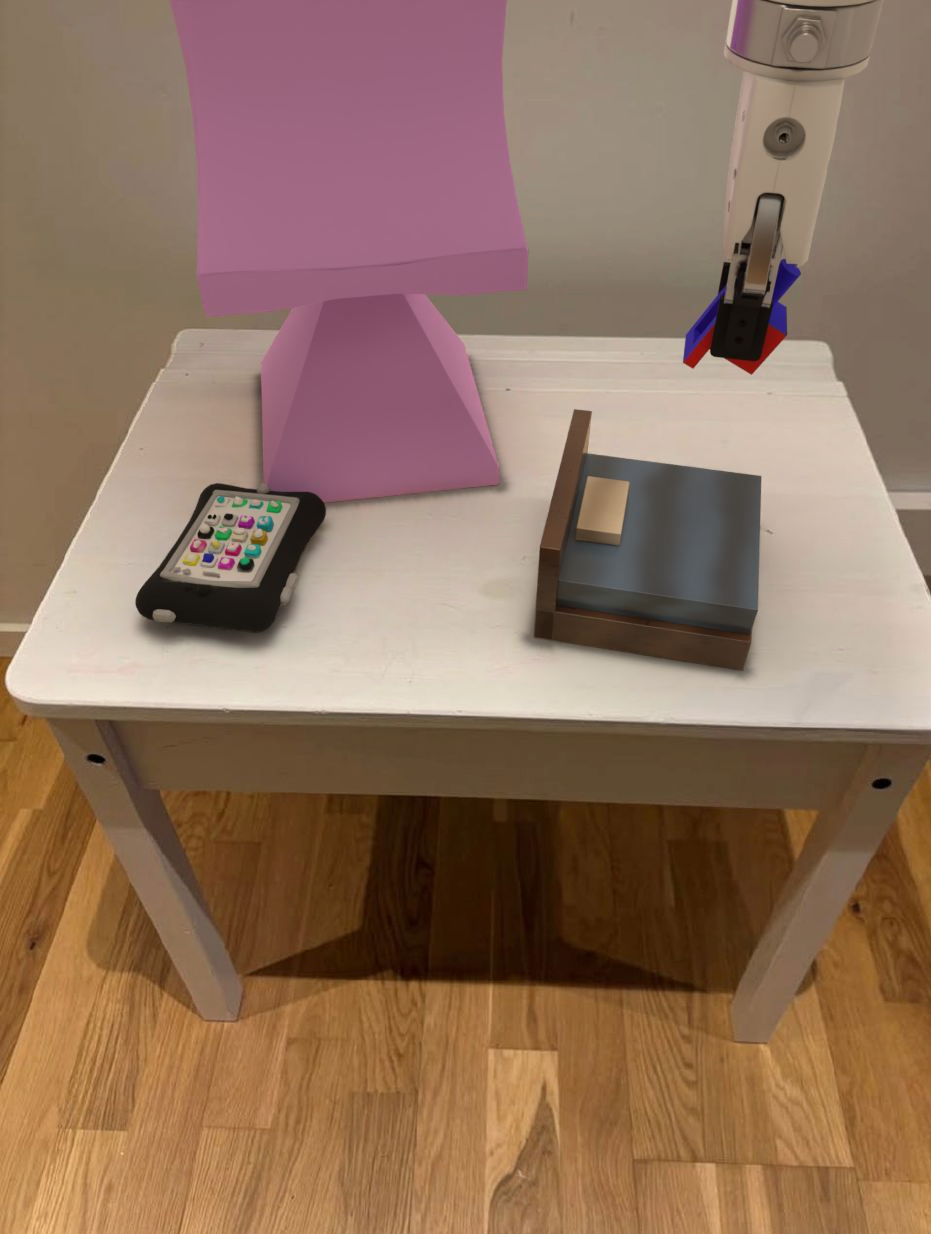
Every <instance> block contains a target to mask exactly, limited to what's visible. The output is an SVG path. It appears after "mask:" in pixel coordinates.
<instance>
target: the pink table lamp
mask: <svg viewBox="0 0 931 1234" xmlns="http://www.w3.org/2000/svg"><path fill="white" fill-rule="evenodd" d="M168 1H169V5H170V7H171V11H172V15H173V20H174V23H175V28H176V32H177V37H178V41H179V45H180V49H181V53H182V59H183V62H184V67H185V73H186V74H185V75H186V80H187V86H188V94H189V100H190V101H189V102H190V108H191V114H192V115H191V116H192V125H193V139H194V149H195V151H194V152H195V162H196V187H197V188H196V189H197V190H196V191H197V193H196V194H197V243H196V244H197V251H196V280H197V281H196V282H197V284H198V290H199V295H200V298H201V299H200V300H201V303H202V307H203V312H204V316H205V318H214V317H215V318H216V317H226V316H237V315H249V314H260V313H272V312H273V313H274V312H276V311H277V312H278V311H282V310H288V309H291V310H290V311H289V313H288V315H287V317H286V318H285V321H284V322H283V324H282V325H281V327H280V328H279V330H278V332H277V334H276V336H275V338H274V339H273V340H272V342H271V344H270V346H269V348H268V349H267V351H266V352H265V354H264V356H263V357H262V359H261V361H260V380H261V381H260V383H261V387H260V388H261V421H262V423H261V424H262V425H261V426H262V464H263V467H262V468H263V469H262V470H263V484H266V485H268V487H269V488H270V491H280V492H311V493H314V494H316V495H317V496H319V497H320V499H321V500H322V501H323V502H324V504H326V503H333V502H345V501H354V500H363V499H372V498H382V497H391V496H401V495H411V494H421V493H431V492H440V491H449V490H459V489H469V488H477V487H488V486H498V485H500V471H501V469H500V468H501V467H500V465H499V462H498V458H497V455H496V452H495V447H494V444H493V440H492V437H491V434H490V431H489V427H488V426H489V425H488V423H487V419H486V416H485V413H484V410H483V409H484V408H483V406H482V405H483V404H482V402H481V398H480V394H479V391H478V388H477V384H476V381H475V377H474V373H473V370H472V367H471V366H472V365H471V363H470V359H469V355H468V352H467V349H466V346H465V343H464V342H463V340H462V339H461V338H460V337H459V335H458V334H457V333H456V331H455V330H454V329H453V328H452V326H451V325H450V323H448V322H447V320H446V319H445V317H444V316H443V315H442V314H441V312H440V311H439V310H438V308H437V307H436V306H435V305H434V303H432V301H431V300H430V298H429V297H428V296H427V295H434V296H435V295H436V296H437V295H440V296H475V295H486V294H499V293H510V292H521V291H527V290H528V278H529V277H528V273H529V247H528V244H527V239H526V234H525V231H524V226H523V220H522V216H521V211H520V206H519V203H518V202H519V201H518V197H517V193H516V187H515V182H514V181H515V180H514V176H513V171H512V170H513V169H512V164H511V158H510V151H509V143H508V135H507V127H506V126H507V125H506V119H505V108H504V107H505V104H504V103H505V101H504V78H503V76H504V75H503V55H504V54H503V53H504V41H505V40H504V39H505V28H506V17H507V16H506V13H507V4H508V0H168Z"/></svg>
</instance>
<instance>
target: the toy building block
mask: <svg viewBox="0 0 931 1234" xmlns="http://www.w3.org/2000/svg"><path fill="white" fill-rule="evenodd" d="M801 275H802V272H801V270H800V267H795V264H787V263H786V258H781V262H780V264H779V268H778V273H777V277H776V282H775V287H774V291H773V296H772V300H773V308H772V312H771V316H770V321H769V325H768V329H767V333H766V338H765V342H764V346H763V350H762V355H761V358H760V359H759V360H758V361H747V360H738V359H729V358H723V359H724V360H726V361H728V362H729V363H731V364H732V365H734V366H736V367H738V368H739V369H741V370H742V371H744V372H746V373H748V374H749V375H754V373H755V372H756V371H757V370H758V369H759V368H760V367H761V365H763V363H764V362H765V361H766V360H767V358H768V357H769V356H770V355H771V354H772V353H773V352H774V351H775V350H776V349H777V348H778V346H780V344H781V343H782V342H783V341H784V339H786V337H787V336H788V314H787V313H788V312H787V311H788V310H787V309H788V308H787V306H786V305H784V304H783V303H781V302H780V300H781V298H782V297H784V295H785V294H786V292H788V290H789V289H790V288H791V287H792V286H793V285H794V283H796V281H797V280H798V279H799V278H800V277H801ZM726 286H727V284H726V285H725V287H724V288H723V289H722V290H721V291H720V293H719V294H718V293H717V295H716V296H715V297H714V298H713V300H712V301H711V302H710V304H709V305H708V306H707V307H706V309H705V310H704V311H703V312H702V314H701V315H700V316H699V317H698V319H697V320H696V321H695V322H694V324H693V325H692V326H691V327H690V329H689V330H688V331H687V333H686V334H685V339H684V349H683V357H682V364H684V365H686V366H687V367H689V368H691V369H692V370H694V369H695V367H696V366H697V365H698V364H699V362H700V361H702V359H703V358H704V357H705V355H707V353H708V352H710V347H711V342H712V336H713V331H714V326H715V321H716V315H717V310H718V305H719V300H720V295H723V296H725V291H726Z"/></svg>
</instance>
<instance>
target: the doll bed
mask: <svg viewBox="0 0 931 1234" xmlns="http://www.w3.org/2000/svg"><path fill="white" fill-rule="evenodd" d="M592 415H593V411H591V410H584V409H577V408H574V409H573V411H572V415H571V419H570V423H569V428H568V432H567V435H566V440H565V444H564V448H563V451H562V454H561V455H562V456H561V461H560V464H559V467H558V472H557V476H556V480H555V484H554V488H553V492H552V496H551V500H550V504H549V508H548V512H547V515H546V520H545V524H544V528H543V531H542V537H541V540H540V545H539V551H538V565H537V581H536V582H537V583H536V598H535V613H534V625H533V626H534V628H533V638H535V639H542V640H547V641H555V642H563V643H568V644H573V645H580V646H587V647H593V648H598V649H604V650H605V649H606V650H612V651H617V652H625V653H631V654H637V655H642V656H649V657H656V658H662V659H667V660H674V661H680V662H685V663H693V664H700V665H706V666H712V667H718V668H723V669H731V670H737V671H743V670H744V669H745V665H746V662H747V659H748V656H749V653H750V652H749V651H750V650H751V645H752V643H753V642H752V641H753V640H752V639H753V638H752V637H753V627H754V625H755V622H756V618H757V615H758V612H759V590H760V589H759V587H760V586H759V584H760V583H759V582H760V552H761V551H760V548H761V547H760V546H761V545H760V544H761V511H762V510H761V508H762V507H761V506H762V475H757V474H750V473H749V474H748V473H744V472H743V473H742V472H735V471H727V470H720V469H719V470H718V469H712V468H704V467H697V466H689V465H681V464H672V463H666V462H657V461H650V460H643V459H633V458H627V457H619V456H611V455H603V454H597V453H589V443H590V433H591V424H592Z"/></svg>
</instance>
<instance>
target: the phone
mask: <svg viewBox="0 0 931 1234" xmlns="http://www.w3.org/2000/svg"><path fill="white" fill-rule="evenodd" d="M325 504H326V503H324V502H323V501H322V500H321V499H320V497H319V496H317V495H316V494H314V493H311V492H280V491H270V488H269V487H268V485H266V484H264V483H260V484H259V485H257V486H256V488H249V487H248V488H247V487H242V486H236V485H231V484H227V483H219V482H215V483H212V484H209V485H208V486H206V487H205V488H204V489H203V490H202V491H201V493H200V495H199V497H198V500H197V503H196V505H195V508H194V510H193V513H192V514H191V516H190V519H189V520H188V522H187V524H186V525H185V527H184V529H183V531H182V532H181V534H179V537H178V538H177V540H176V541H175V543H174V544H173V546H172V547H171V548H170V550H169V551H168V552H167V554H166V555H165V557H164V558H163V560H162V562H161V563H160V564H159V566H158V567H157V568H156V569H155V570H154V572H153V573H152V574H151V575H150V576H149V577H148V579H147V580H146V581H145V582H144V583H143V584H142V586H141V587H140V589H139V590H138V592H137V594H136V597H135V603H134V605H135V608H136V610H137V612H138V614H140V615H141V617H143V618H145V619H146V620H149V621H156V622H158V623H168V624H169V623H175V624H183V625H186V624H187V625H196V626H204V627H212V628H221V629H225V630H232V631H237V632H238V631H240V632H249V633H253V634H257V633H262V632H265V631H267V630H268V629H269V628H271V627H272V626H273V624H274V623H275V621H276V619H277V616H278V614H279V612H280V608H281V606H285V605H287V604H289V602H290V600H291V597H292V594H293V590H294V589H295V588H296V585H297V583H298V580H299V575H297V573H295V571H296V568H297V566H298V564H299V562H300V560H301V558H302V555H303V553H304V552H305V549H306V547H307V546H308V545H309V543H310V542H311V540H312V538H313V537H314V536H315V534H316V533H317V532H318V530H319V529H320V527H321V525H322V524H323V522H324V521H325V518H326V516H327V507H326V505H325Z"/></svg>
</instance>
